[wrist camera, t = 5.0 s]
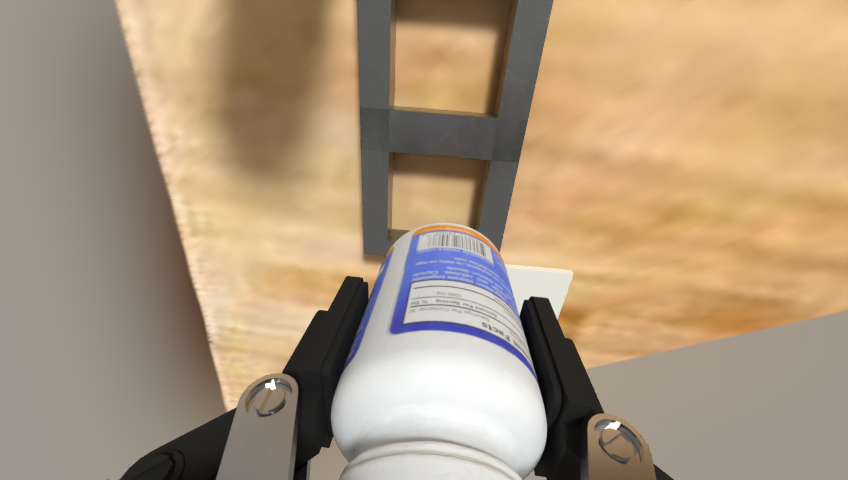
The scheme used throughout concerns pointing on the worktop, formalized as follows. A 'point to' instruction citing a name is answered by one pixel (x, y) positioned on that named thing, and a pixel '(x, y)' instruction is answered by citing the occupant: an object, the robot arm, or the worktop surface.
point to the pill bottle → (440, 368)
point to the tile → (539, 284)
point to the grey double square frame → (443, 120)
